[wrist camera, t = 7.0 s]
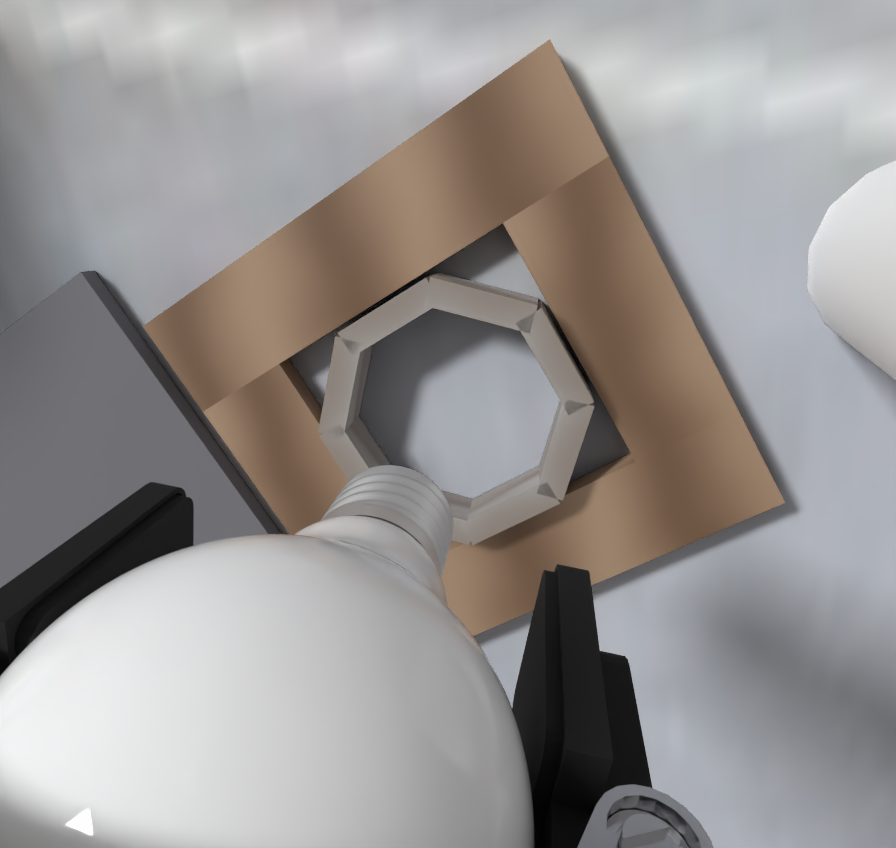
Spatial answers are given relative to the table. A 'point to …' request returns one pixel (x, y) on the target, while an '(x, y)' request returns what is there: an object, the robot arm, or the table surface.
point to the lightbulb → (270, 697)
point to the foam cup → (859, 267)
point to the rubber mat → (99, 430)
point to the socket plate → (559, 279)
